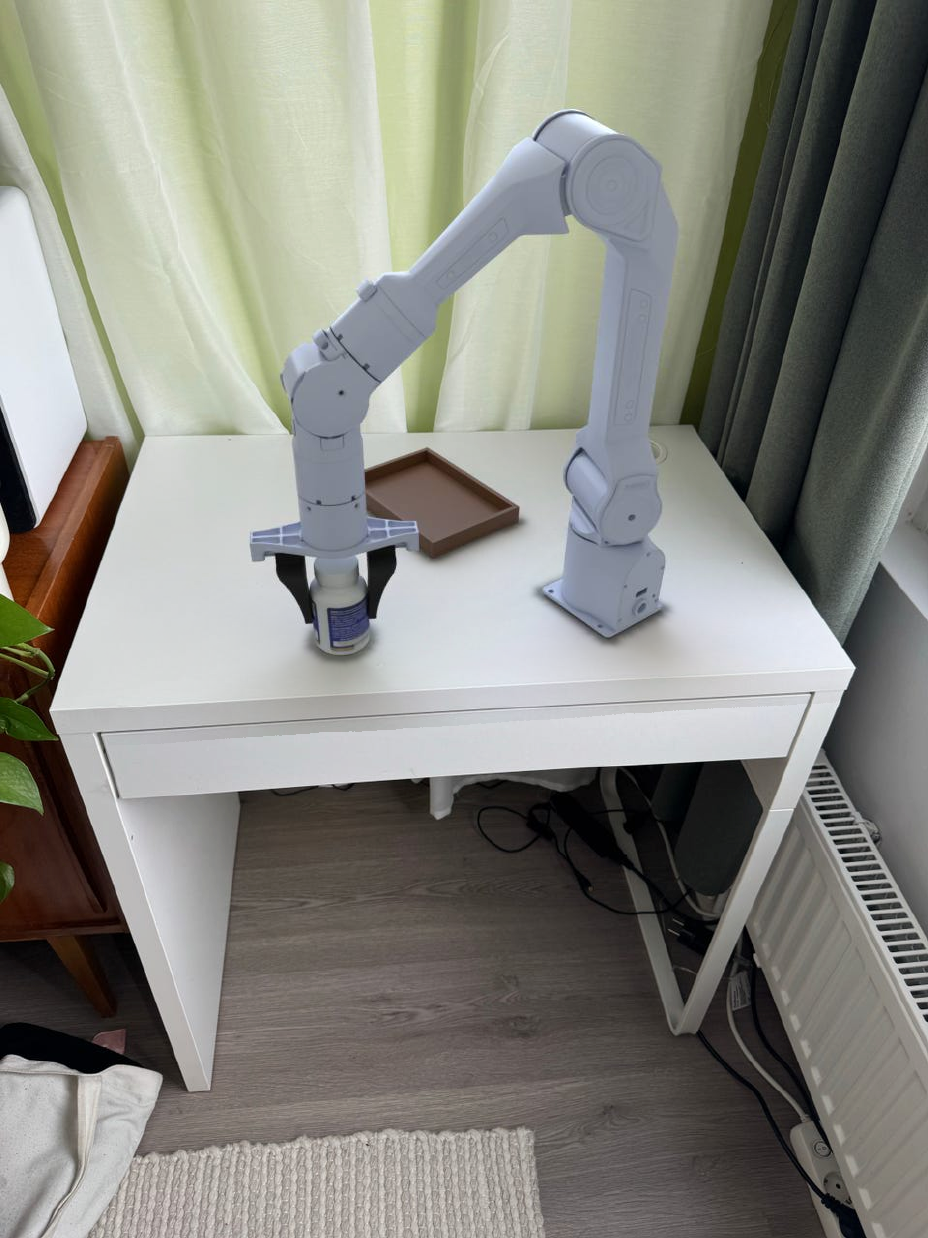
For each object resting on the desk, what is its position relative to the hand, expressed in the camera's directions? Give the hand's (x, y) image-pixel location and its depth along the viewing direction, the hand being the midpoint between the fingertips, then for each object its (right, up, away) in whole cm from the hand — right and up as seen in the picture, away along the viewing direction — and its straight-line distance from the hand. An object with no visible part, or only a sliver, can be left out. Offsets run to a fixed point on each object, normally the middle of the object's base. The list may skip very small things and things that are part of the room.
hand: (341, 614), depth 86 cm
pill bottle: (0, -2, +2) cm, 3 cm away
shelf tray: (+8, +13, +21) cm, 25 cm away
